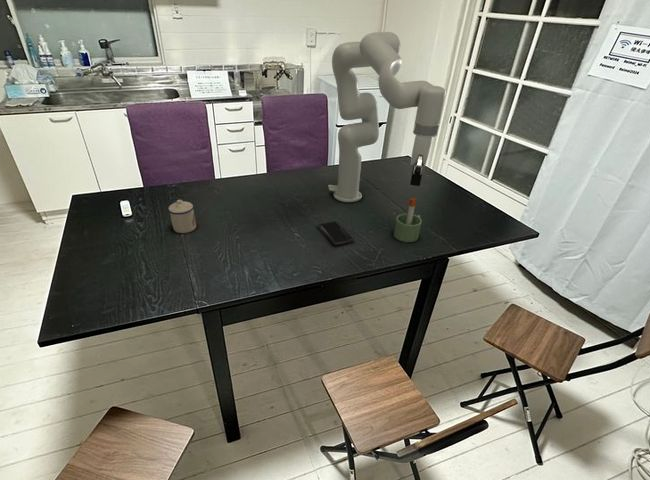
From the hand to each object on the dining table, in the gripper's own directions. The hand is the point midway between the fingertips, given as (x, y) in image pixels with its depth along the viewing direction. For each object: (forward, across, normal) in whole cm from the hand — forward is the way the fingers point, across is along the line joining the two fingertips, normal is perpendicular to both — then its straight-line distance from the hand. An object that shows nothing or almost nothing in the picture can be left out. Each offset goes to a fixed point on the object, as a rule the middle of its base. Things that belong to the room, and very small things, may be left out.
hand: (415, 179), depth 131 cm
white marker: (+22, +1, +1) cm, 22 cm away
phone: (+23, +8, -26) cm, 35 cm away
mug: (+23, -1, +1) cm, 23 cm away
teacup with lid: (+24, +19, -84) cm, 89 cm away
